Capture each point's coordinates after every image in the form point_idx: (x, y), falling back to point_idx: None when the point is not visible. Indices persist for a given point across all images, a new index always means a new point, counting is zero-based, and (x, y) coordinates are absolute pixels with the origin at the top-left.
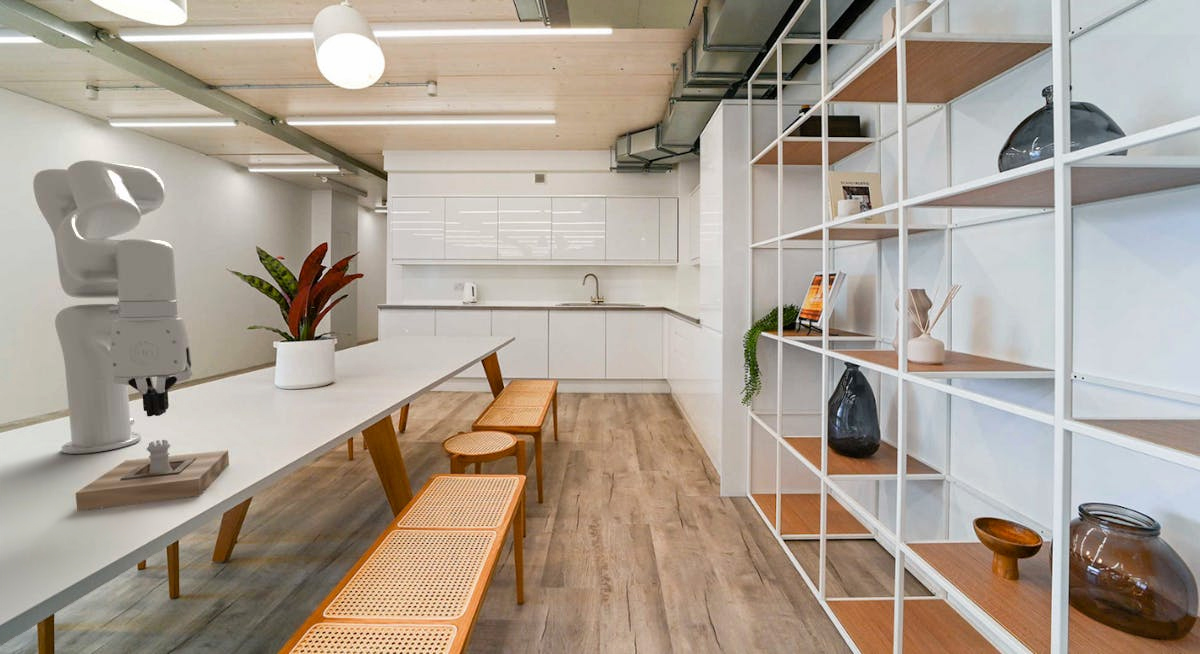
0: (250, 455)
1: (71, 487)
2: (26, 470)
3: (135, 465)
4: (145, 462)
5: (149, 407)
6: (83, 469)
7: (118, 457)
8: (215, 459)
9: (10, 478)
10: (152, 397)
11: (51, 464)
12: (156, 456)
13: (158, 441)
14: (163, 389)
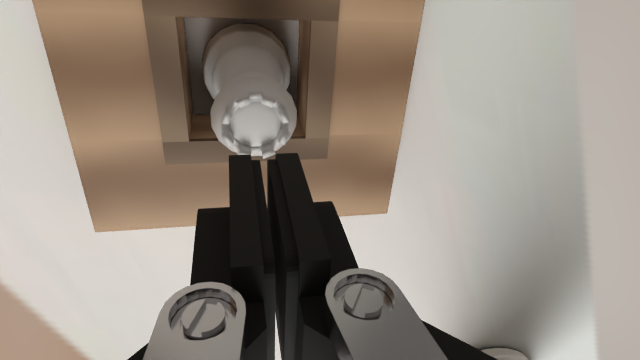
0: (83, 269)
1: (474, 139)
2: (567, 279)
3: (345, 155)
4: (325, 176)
5: (286, 184)
6: (475, 260)
7: (427, 318)
8: (81, 134)
9: (587, 241)
10: (270, 241)
11: (534, 303)
12: (250, 75)
13: (264, 149)
14: (165, 316)
